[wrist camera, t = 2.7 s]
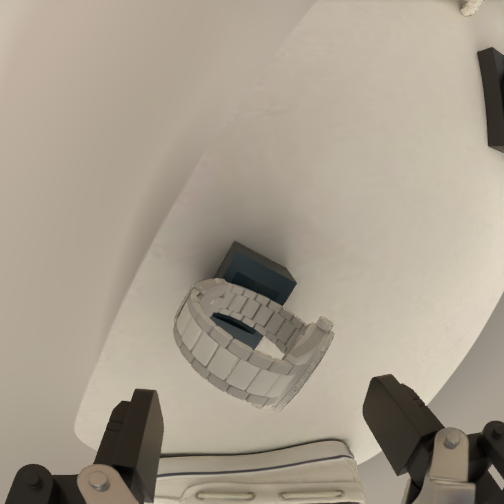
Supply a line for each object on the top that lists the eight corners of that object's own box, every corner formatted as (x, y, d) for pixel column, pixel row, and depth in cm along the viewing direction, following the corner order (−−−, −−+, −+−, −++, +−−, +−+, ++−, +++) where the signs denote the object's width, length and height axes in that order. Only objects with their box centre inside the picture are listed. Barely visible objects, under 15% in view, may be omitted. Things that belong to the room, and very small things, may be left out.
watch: (271, 338, 23) (304, 443, 12) (177, 294, 21) (145, 392, 11) (309, 279, 22) (377, 360, 11) (212, 227, 20) (202, 281, 10)
